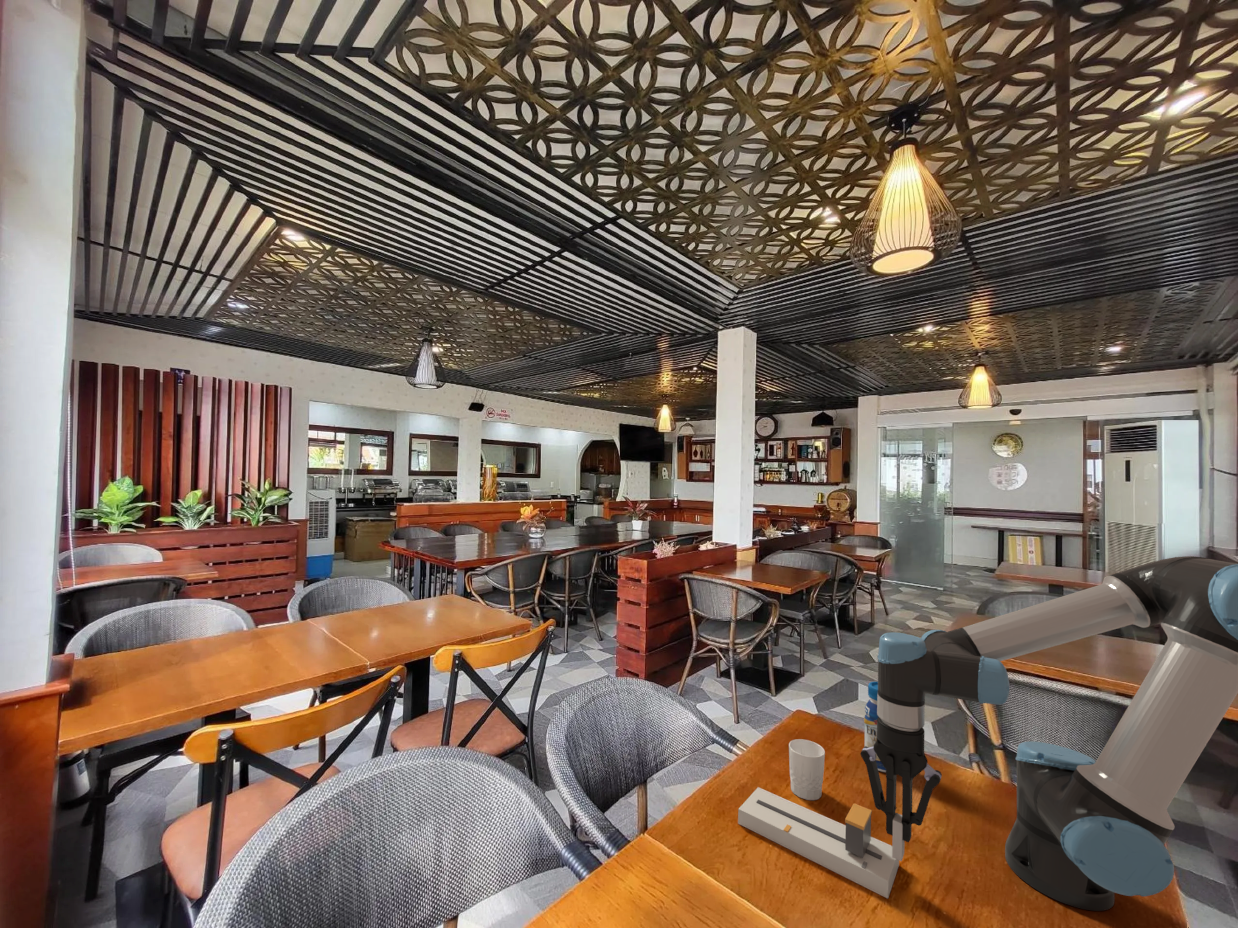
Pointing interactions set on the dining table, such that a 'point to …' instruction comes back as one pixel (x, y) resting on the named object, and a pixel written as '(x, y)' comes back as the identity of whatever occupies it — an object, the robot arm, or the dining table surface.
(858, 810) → the fader knob
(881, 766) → the beverage bottle
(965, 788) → the dining table surface
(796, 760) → the white cup
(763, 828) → the dimmer console
